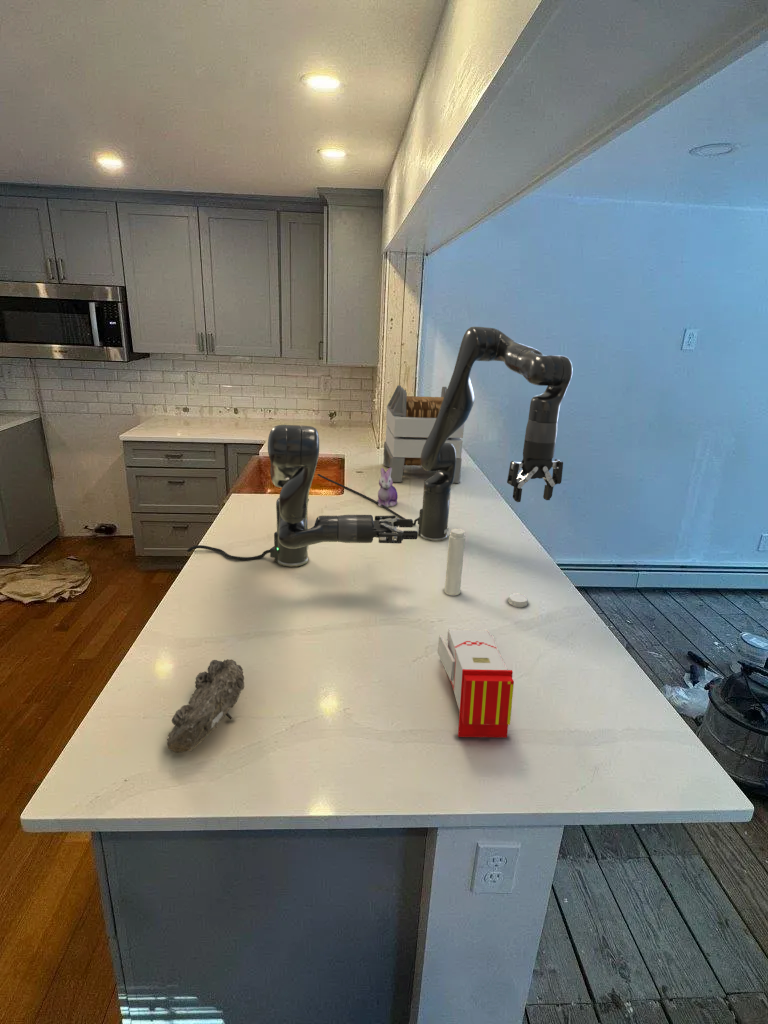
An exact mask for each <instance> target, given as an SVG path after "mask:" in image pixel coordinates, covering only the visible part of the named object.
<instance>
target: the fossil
mask: <svg viewBox="0 0 768 1024" xmlns="http://www.w3.org/2000/svg"><path fill="white" fill-rule="evenodd" d="M243 670H244V669H243V667H242V665H240V664H237V662H236V661H235V660H234V659H232V658H231V659H227V658H226V659H224V660H223V661H222V660H217V659H212V660H211V661H210V663H209V665H208V666H207V671H201V672H199V673H198V674H197V675H196V676H195V680H194V684H195V685H194V687H195V689H194V690H193V693H192V694H191V697H190V698H189V700H188V704H184V705H182V706H181V707H180V709H177V710H176V711H175V713H174V715H173V716H172V718H171V723H172V724H173V727H172V730H171V731H170V732H168V734H167V738H166V741H167V742H166V745H167V749H168V750H169V751H173V752H174V753H176V754H178V753H182V752H188V751H189V752H192V751H193V750H195V748H196V747H197V746H199V744H200V743H201V742H203V741H204V740H205V739H206V738H207V737H208V736H209V735H210V734H211V733H212V732H214V730H215V729H217V727H218V726H219V724H220V722H221V721H222V720H223V719H224V718H225V716H226V717H227V719H229V720H233V717H232V715H230V714H229V710H230V709H231V708H234V706H235V704H236V703H237V702H238V699H239V697H240V695H241V693H242V691H243V690H245V689H244V688H245V675H244V671H243Z"/></svg>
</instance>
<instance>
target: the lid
mask: <svg viewBox="0 0 768 1024" xmlns="http://www.w3.org/2000/svg"><path fill="white" fill-rule="evenodd" d="M528 599H529V598H528V597H527V596H526V595H525V594H522V593H517V592H514V593H510V594H509V595H508V598H507V602H508V604H509V605H511V606H513V607H516V608H525V607H527V606H528V601H529V600H528Z"/></svg>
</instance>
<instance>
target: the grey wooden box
mask: <svg viewBox="0 0 768 1024" xmlns="http://www.w3.org/2000/svg"><path fill="white" fill-rule="evenodd" d="M447 388H448V386H442V387H441V392H440V393H441V394H440V396H415V395H414V396H413V395H412V396H411V395H407V394H408V393H407V390H406V389H404V388H403V387H402V385H399V384H398V385H397V386H396V388H395V390H394V392H393V394H392V395H391V398H390V400H389V402H388V404H387V405H386V413H385V414H386V415H385V423H386V428H385V438H384V442H383V466H384V467H388V468H390V467H391V468H392V471H391V475H390V476H391V479H392V481H393V483H402V482H403V475H404V469H405V466H406V467H407V466H411V467H412V466H413V467H415V466H416V467H417V466H418V467H422V465H421V452H422V449H423V447H424V444H425V442H426V440H427V438H428V436H429V434H430V432H431V430H432V428H433V426H434V423H435V421H436V418H437V416H438V413H439V410H440V407H441V404H442V401H443V399H444V396H445V393H446V391H447ZM464 429H465V423H464V424H463V425H462V426H461V427H460V428H459V429H458V430H456V431H455V432H454V433H453V434H452V435H451V436H450V437H449V438H448V439H447V440H446V442H445V443H451V444H452V445H453V446H454V448H455V451H456V465H455V472H454V479H453V484H455V483H456V484H459V483H461V472H462V461H463V460H462V453H463V442H464V441H463V440H462V439H463V438H464V431H465V430H464Z"/></svg>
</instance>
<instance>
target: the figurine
mask: <svg viewBox="0 0 768 1024" xmlns="http://www.w3.org/2000/svg"><path fill="white" fill-rule="evenodd" d="M391 471H392V468H391V467H388V469H387V470H386V471H385V469H384V468H383V467H381V468H380V478H379V480H378V485H379V489H378V492H377V502H378V503H379V504H377V505H378V507H381V505H384V506H386V507H387V508H389V507H394V506H396V505H397V503H398V496H399V495H398V490H397V489H396V487H395V486H394V485H393V484H394V482H393V481H392V479H391V476H390V475H391Z"/></svg>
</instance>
